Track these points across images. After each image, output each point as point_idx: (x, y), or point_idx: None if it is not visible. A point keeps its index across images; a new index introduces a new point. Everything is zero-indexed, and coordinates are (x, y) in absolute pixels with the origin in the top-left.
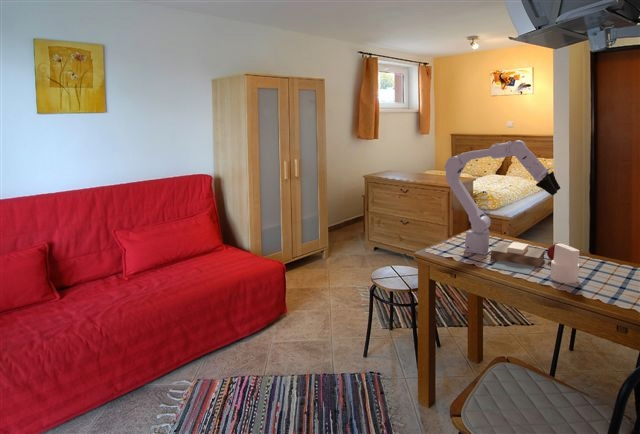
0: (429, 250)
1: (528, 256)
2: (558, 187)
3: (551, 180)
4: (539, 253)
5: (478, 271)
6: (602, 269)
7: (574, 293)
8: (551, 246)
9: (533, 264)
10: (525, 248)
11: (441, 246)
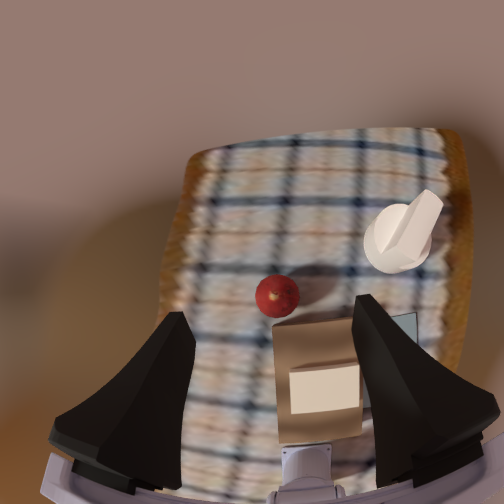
0: None
1: None
2: (179, 328)
3: (155, 414)
4: (318, 329)
5: None
6: (269, 190)
7: (448, 208)
8: (282, 307)
9: None
10: (328, 368)
11: None
